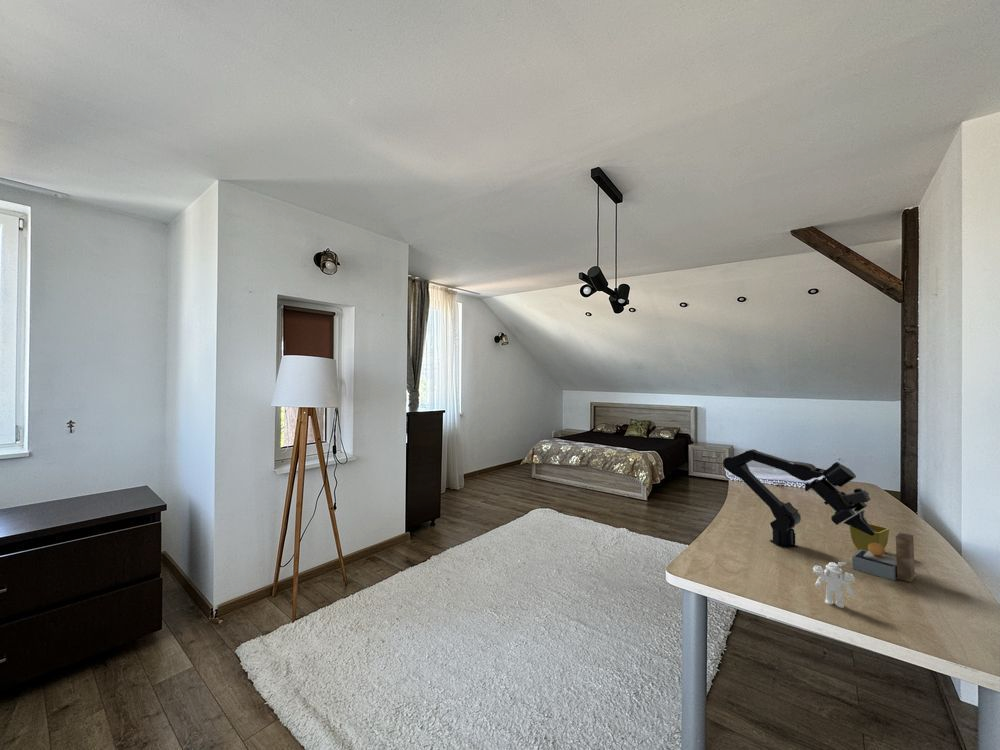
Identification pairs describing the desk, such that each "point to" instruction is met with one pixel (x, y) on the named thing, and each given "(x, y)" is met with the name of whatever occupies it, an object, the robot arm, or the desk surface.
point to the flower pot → (869, 537)
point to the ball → (876, 549)
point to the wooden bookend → (900, 557)
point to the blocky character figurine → (834, 582)
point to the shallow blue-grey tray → (873, 566)
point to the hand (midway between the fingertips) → (873, 535)
